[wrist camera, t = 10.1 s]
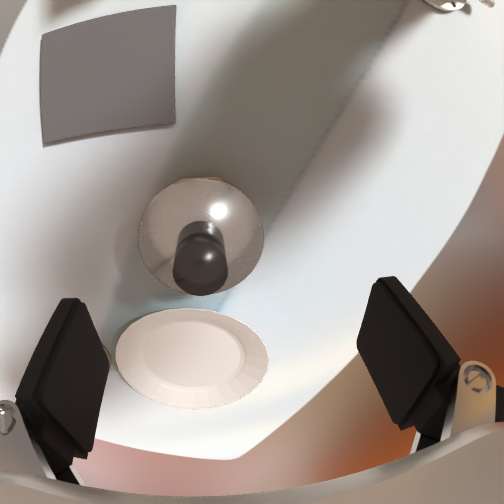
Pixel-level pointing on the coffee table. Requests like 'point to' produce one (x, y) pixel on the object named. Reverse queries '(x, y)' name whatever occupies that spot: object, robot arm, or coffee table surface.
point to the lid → (200, 236)
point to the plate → (191, 358)
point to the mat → (109, 73)
